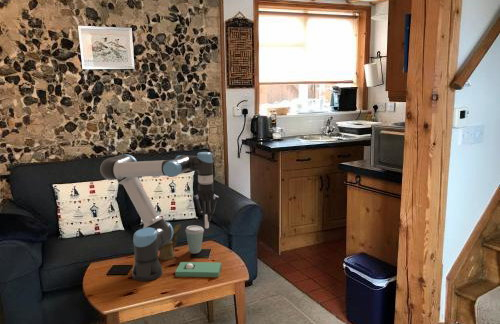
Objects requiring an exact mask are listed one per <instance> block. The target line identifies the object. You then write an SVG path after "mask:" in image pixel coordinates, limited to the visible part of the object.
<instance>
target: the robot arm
mask: <svg viewBox="0 0 500 324" xmlns="http://www.w3.org/2000/svg"><path fill="white" fill-rule="evenodd" d="M137 160H138V159H136V158H135V156H133V155H131V154H126V153H124V154H119V155H116V156H113V157H108V158H106V159H104V160H103V161H102V162H101V164H100V168H99V172H100V175H101V176H102V177H103V178H104V179H105V180H108V181H115V180H116V181H117V182H118V185H122V186H123V187H124V189H125V191H126V193H127V195H128V197H129V198H130V199H129V200H131V202H132V204H133V207H135V210H136V212H137V214H138V215H139V217H140V219H141V221H142V222H143V227H142V228H140V229H138V230H136V231H135V232H134V234H133V239H132V242H133V243H132V244H133V252H134V253H133V254H134V264H133V268H132V271H131V277H132V279H134V280H136V281H139V282H147V281H148V282H149V281H153V280H156V279H159V278H160V277H161V276H162V275H163V267H162V265H161V262H160V261H159V260H160V259H159V252H158V251H159V250H160V248H161V247H162V246H164V245H165V244H167V243H168V242H169V241H170V240H171V239H172V237H173V234H174V231H173V229H174V228H173V226H172V224H171V223H170V222H169V221H165V219H164V218H163V217H162V216H160V215H159V214H158V212H157V211H156V209H155V207H154V205H153V203H152V201H151V200H150V198H149V196H148V193H147V192H146V190H145V188H144V186H143V185H142V183H141V181H140V179H139V177H165V176H166V177H169V178H174V177H177V176H179V175H181V174H184V173H186V172H187V171H190V172H191V171H193V172H197V182H198V185H197V186H198V189H197V191H198V192H197V194H196V195H194V196H193V199H194V201H195V204H196V208H197V211H198V214H199V215H200V216H202V222H204V229H209V227H210V222H211V221H212V219H211V217H212V216H213V215H214V214H215V209H216V205H217V201H218V200H219V198H220V196H219V195H216V194H215V192H214V170H213V168H214V165H213V164H214V160H213V153H212V152H210V151H209V152H208V151H201V152H198V153H197V155H185V154H182V155H177V156H175V158H174V159H168V160H166V159H165V160H164V159H162V160H144V161H137ZM212 199H213V203H212V208H211V200H212ZM200 200H201V202H200ZM206 205H207V206H206ZM201 206H202V207H201ZM206 211H207V212H206Z"/></svg>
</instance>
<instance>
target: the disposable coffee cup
mask: <svg viewBox="0 0 500 324" xmlns="http://www.w3.org/2000/svg"><path fill="white" fill-rule="evenodd" d="M204 232H205V228H203V227H202V226H200V225H188V226H186V228H185V234H186V240H187V246H188V250H189V252H190V254H199V253H200V252H201V251H202V244H203V236H204Z"/></svg>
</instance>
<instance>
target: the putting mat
mask: <svg viewBox="0 0 500 324" xmlns="http://www.w3.org/2000/svg"><path fill="white" fill-rule="evenodd" d="M189 263H191V264H193V266H194V268H193V269H186V265H187V264H189ZM221 270H222V262H218V261H217V262H213V261H212V262H210V261H209V262H207V261H206V262H205V261H203V262H202V261H201V262H199V261H196V262H195V261H194V262H193V261H180V262H179V265H178V266H177V267H176V270H175V272H174V274H175V277H186V278H188V277H189V278H193V277H195V278H196V277H197V278H211V277H212V278H219V276H220V274H221Z"/></svg>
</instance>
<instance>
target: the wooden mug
mask: <svg viewBox="0 0 500 324" xmlns="http://www.w3.org/2000/svg"><path fill="white" fill-rule="evenodd" d="M180 230H181V223H178V224H177V225H175V226H174V228H173V231H174V234H173V237H172V239H171V240H170V241H169V242H168V243H167V244H165V245H164V246H162V247H161V248H160V249H159V253H158V260H162V261H168V260H169V261H170V260H172V259H174V258H175V257H176V252H175V248H176V245H177V242H178V237H177V235H178V233H180Z"/></svg>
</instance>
